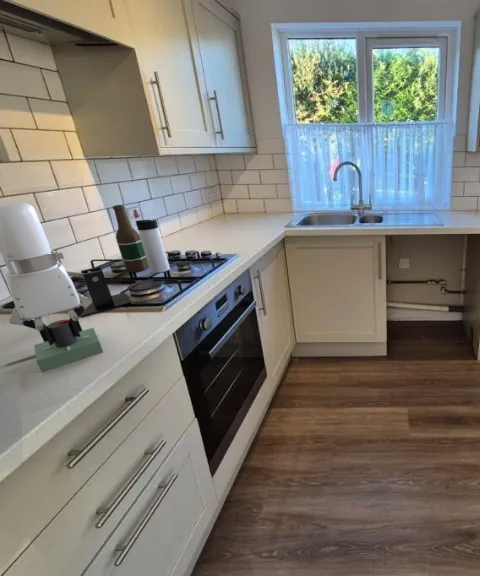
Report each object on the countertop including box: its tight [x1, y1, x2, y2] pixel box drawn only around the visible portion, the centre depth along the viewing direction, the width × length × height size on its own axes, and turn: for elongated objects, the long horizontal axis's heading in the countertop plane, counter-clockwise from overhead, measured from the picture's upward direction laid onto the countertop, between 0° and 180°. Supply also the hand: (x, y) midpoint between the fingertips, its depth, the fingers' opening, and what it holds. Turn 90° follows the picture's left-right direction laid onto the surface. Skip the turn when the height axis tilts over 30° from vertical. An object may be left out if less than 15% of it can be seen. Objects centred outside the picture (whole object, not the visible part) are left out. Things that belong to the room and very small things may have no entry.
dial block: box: [34, 327, 104, 373], centre depth 84 cm, size 11×9×3 cm
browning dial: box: [47, 318, 78, 347], centre depth 82 cm, size 4×4×5 cm
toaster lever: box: [66, 270, 93, 279], centre depth 100 cm, size 11×6×2 cm, turn 135°
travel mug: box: [135, 219, 171, 274], centre depth 129 cm, size 6×7×20 cm
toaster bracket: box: [79, 266, 132, 319], centre depth 104 cm, size 12×10×12 cm
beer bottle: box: [112, 204, 150, 273], centre depth 133 cm, size 8×8×24 cm
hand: (64, 338), depth 83 cm, fingers closed on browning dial, 4 cm apart
